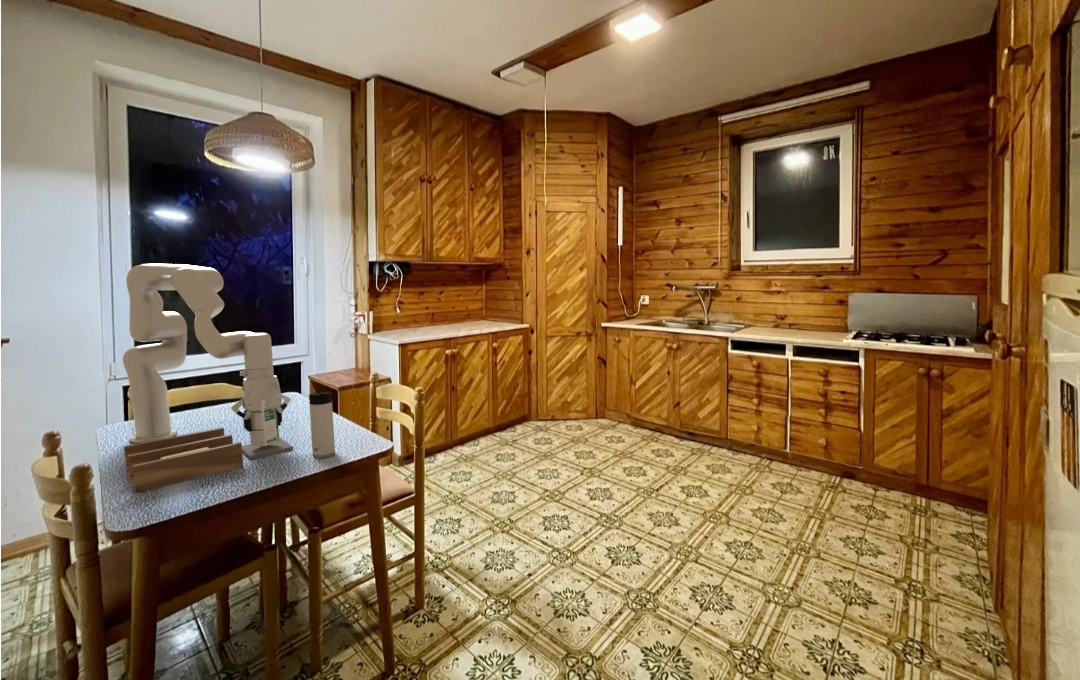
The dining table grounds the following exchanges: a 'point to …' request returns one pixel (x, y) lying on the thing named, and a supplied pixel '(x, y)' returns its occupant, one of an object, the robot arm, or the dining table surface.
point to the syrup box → (264, 426)
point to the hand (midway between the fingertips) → (263, 427)
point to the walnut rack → (181, 458)
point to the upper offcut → (186, 452)
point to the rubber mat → (266, 449)
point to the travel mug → (322, 425)
